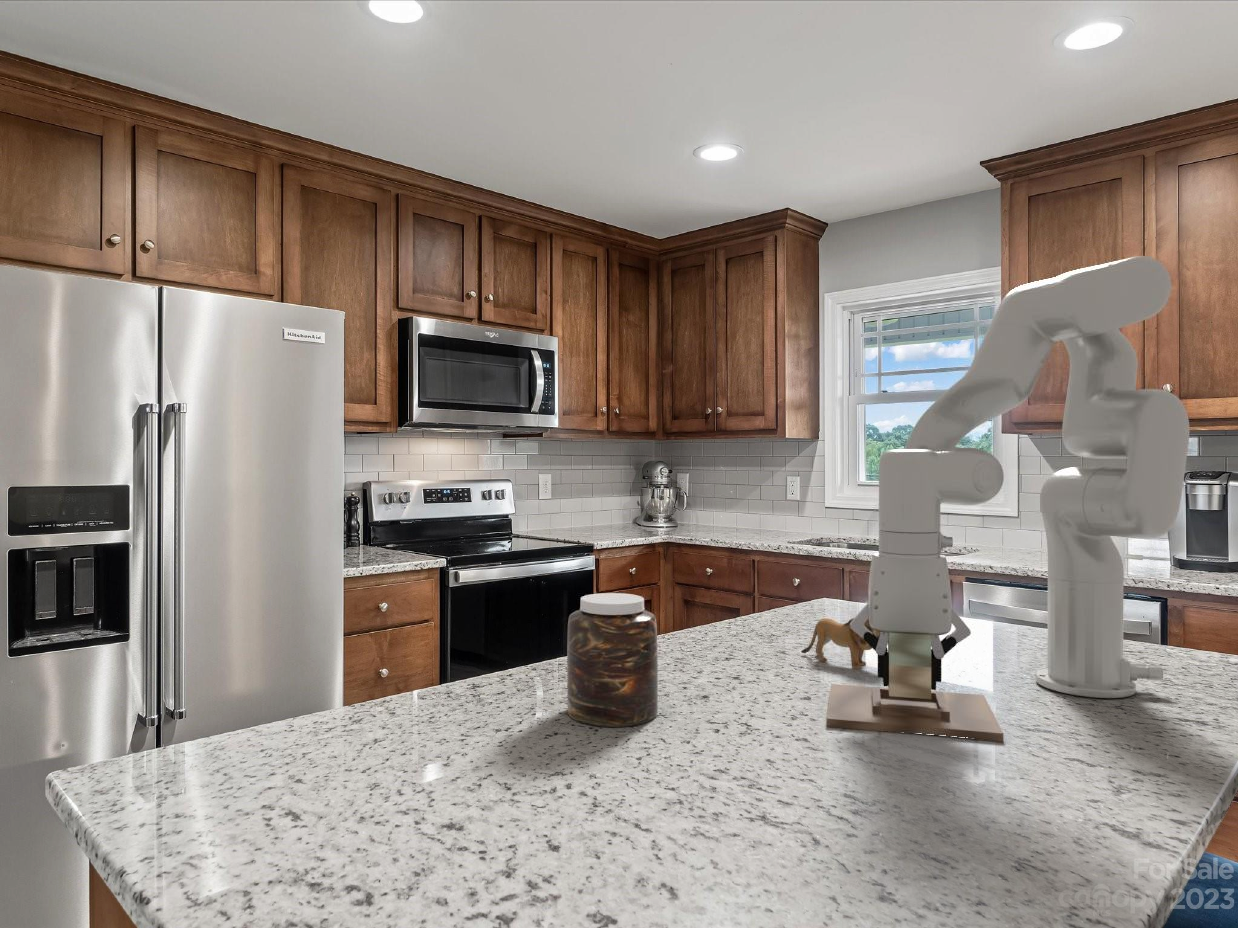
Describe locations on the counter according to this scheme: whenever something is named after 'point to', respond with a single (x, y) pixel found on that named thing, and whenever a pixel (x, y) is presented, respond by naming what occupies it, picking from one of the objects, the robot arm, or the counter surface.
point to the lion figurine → (841, 639)
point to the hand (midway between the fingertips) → (908, 683)
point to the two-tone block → (909, 665)
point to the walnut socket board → (912, 713)
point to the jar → (612, 661)
